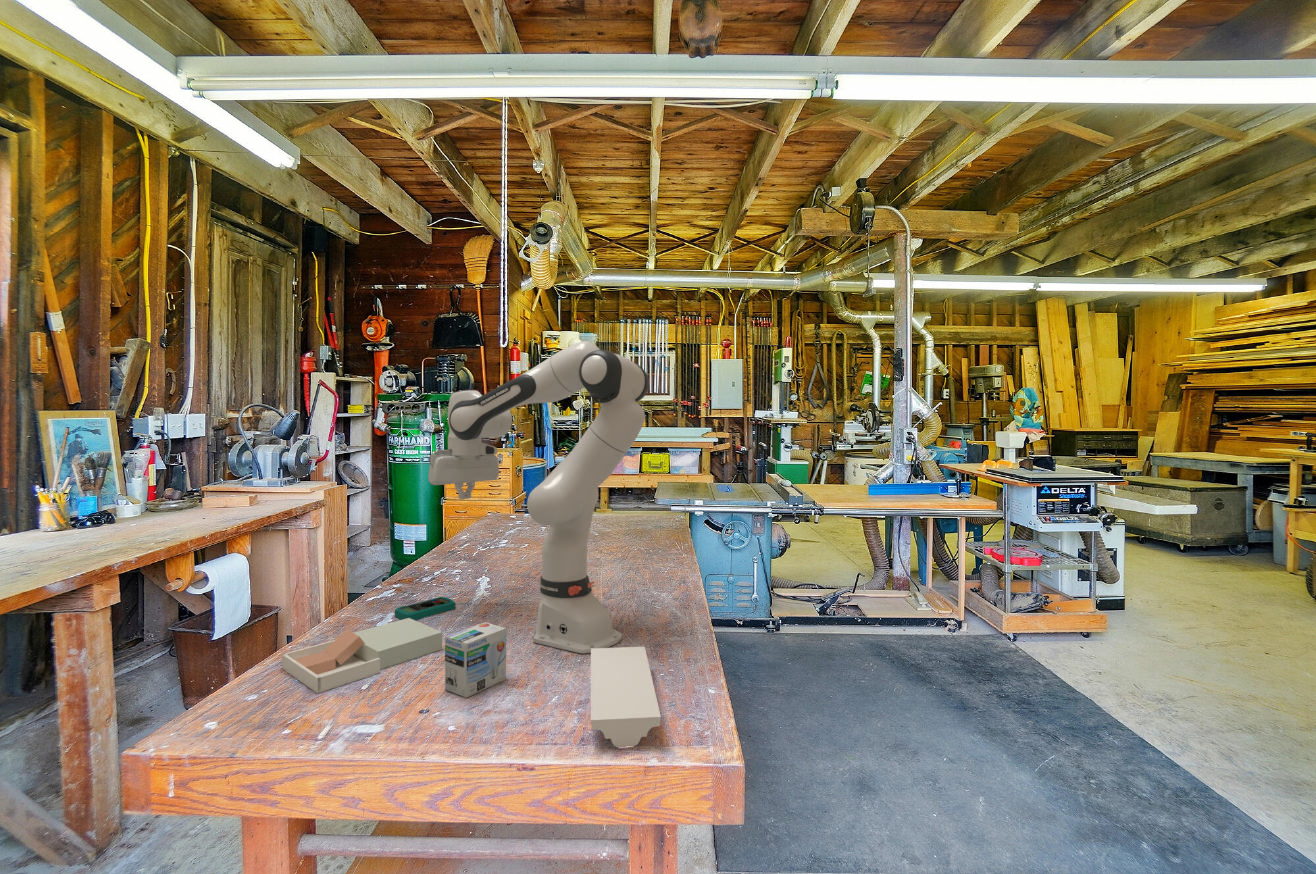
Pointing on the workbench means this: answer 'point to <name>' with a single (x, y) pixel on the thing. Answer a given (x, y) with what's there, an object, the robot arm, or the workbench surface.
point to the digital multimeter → (425, 608)
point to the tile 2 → (344, 646)
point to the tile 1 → (318, 662)
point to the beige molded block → (622, 695)
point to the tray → (330, 679)
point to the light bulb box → (475, 659)
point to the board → (398, 642)
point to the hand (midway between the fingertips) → (464, 498)
